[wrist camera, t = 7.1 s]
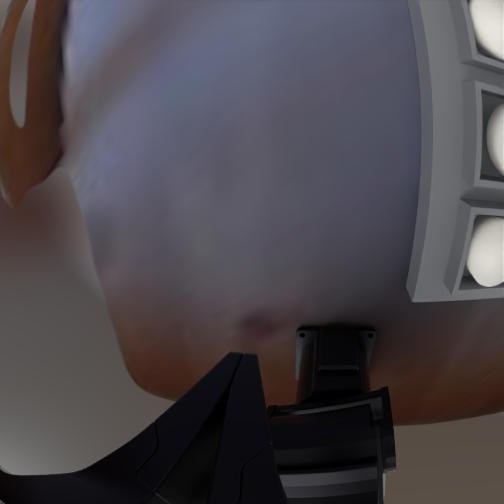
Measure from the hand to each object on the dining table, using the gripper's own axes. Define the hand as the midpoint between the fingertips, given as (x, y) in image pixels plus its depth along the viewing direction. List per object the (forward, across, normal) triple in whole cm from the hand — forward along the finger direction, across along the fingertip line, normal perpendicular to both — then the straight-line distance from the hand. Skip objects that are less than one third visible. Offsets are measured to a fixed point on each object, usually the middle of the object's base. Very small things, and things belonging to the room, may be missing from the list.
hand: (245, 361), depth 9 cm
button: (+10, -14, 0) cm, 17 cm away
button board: (+12, -14, -7) cm, 19 cm away
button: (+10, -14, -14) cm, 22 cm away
